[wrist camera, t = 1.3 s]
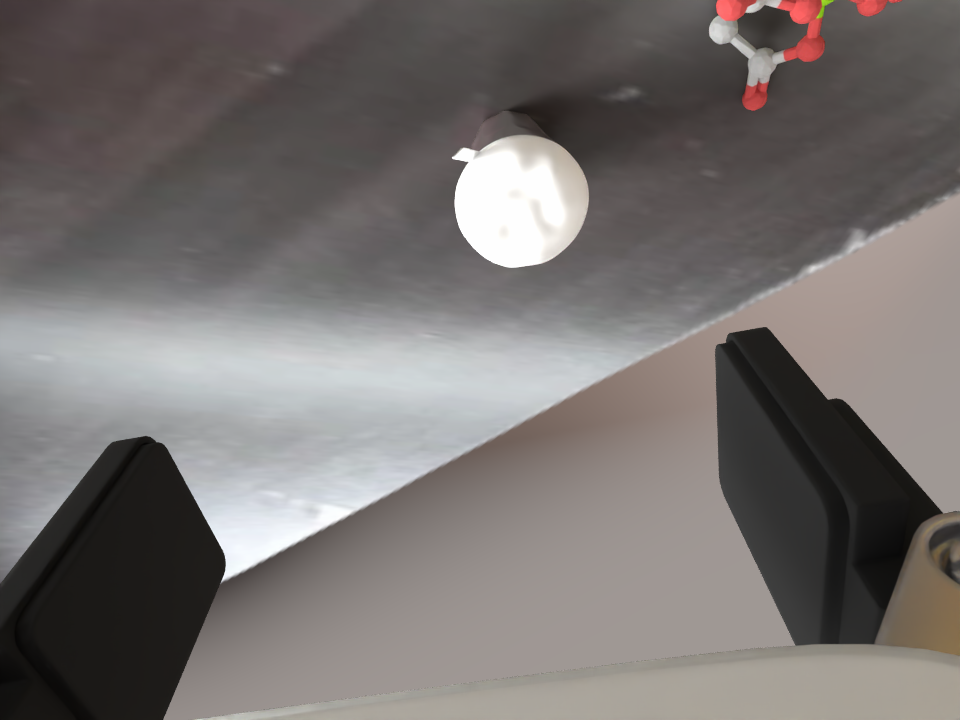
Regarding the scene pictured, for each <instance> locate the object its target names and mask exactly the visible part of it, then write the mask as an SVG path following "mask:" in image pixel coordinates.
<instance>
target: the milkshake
mask: <svg viewBox="0 0 960 720" xmlns="http://www.w3.org/2000/svg"><path fill="white" fill-rule="evenodd" d="M452 158H453V159H457V160H462V161H467V163H466V165H465V167H464V170H463V172H462V174H461V176H460V179H459V181H458V184H457V188H456V194H455V210H456V217H457V221H458V224H459V227H460V229H461V231H462V233H463V235H464V236H465V238H466V239H467V240H468V242H469V243H470V244H471V245H472V246H473V248H474V249H475V250H476V251H477V252H479V253H480V254H481V255H482V256H483V257H485V258H486V259H488V260H490V261H492V262H494V263H496V264H499V265H501V266H505V267H523V266H529V265H535V264H540V263H544V262H546V261H548V260H550V259H552V258H554V257H555V256H557V255H558V254H559V253H561V252H562V251H563V250H564V249H565V248H566V247H567V246H568V245H569V244H570V243H571V242H572V241H573V240H574V238H575V237H576V236H577V234H578V233H579V231H580V229H581V227H582V225H583V222H584V220H585V216H586V213H587V209H588V203H589V191H588V185H587V181H586V178H585V176H584V173H583V171H582V170H581V168H580V166H579V165H578V163H577V162H576V160H575V159H574V158H573V157H572V156H571V155H570V154H569V152H567V151H566V150H565V149H564V148H563V147H562V146H560V145H559V144H558V143H557V142H555V141H554V140H553V139H552V138H550V137H549V136H548V135H547V134H546V133H545V132H544V131H543V130H542V129H541V128H540V127H539V126H538V125H537V124H536V123H535V122H534V120H533V119H532V118H531V117H530V116H529V115H528V114H522V113H517V112H512V111H507V110H504V111H502V112H500V113H498V114H496V115H495V116H493V117H491V118H489V119H486V120H484V121H483V123H482V125H481V127H480V129H479V131H478V133H477V135H476V137H475V139H474V140H473V142H472V146H471V149H468V148H464V147H462V148H461V149H459V150H458V151H457V152H456V153H455V155H454V156H453V157H452Z"/></svg>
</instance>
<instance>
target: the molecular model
mask: <svg viewBox="0 0 960 720" xmlns="http://www.w3.org/2000/svg"><path fill="white" fill-rule="evenodd" d="M833 1H834V0H718V1H717V4H716V9H717V13H718V14H719V15H718V16H717V17H716V18H715V19H714V20H713V21H712V22H711V24H710V27H709V35H710V37H711V38H712V40H713V41H714V42H716V43H718V44H724V43H728V42H731V43H732V44H733V45H734V46H735V47H736V48H737V49H738V50H740V51H741V52H742V53H743V54H744V55H745V56H746V57H747V58H749V61H748V68H749V74H748V79H747V84H746V89H745V93H744V94H743V97H742V102H743V105H744V107H745V108H746V109H749V110H752V111H755V110H757V109H759V108H761V107H762V106H764V104H765V103H766V101H767V93H766V90H767V86H768V82H769V78H770V74H771V73H772V72H773V71H774V70H775V68H776V66H777V64H778V63H782V62H785V61H788V60H792V59H795V58H799V59H801V60H802V61H804V62H807V61H814V60H816V59H818V58H819V57H820V56H821V55H822V53H823V51H824V49H825V41H824V39H823V38H822V37H821V36H820V35H819V33H820V28H821V23H822V18H823V13H824V8H825V5H827V4H829V3H831V2H833ZM850 1H852V2H855V3H857V8H858V11H859V13H860V14H862V15H864V16H872V15H875V14H878V13H879V12H880V11H881V10H883V9H884V7H885V5H886V3H887V1H889V2H892V3H895V2H900V1H902V0H850ZM764 5H767V6H771V7H775V8H779V9H783V10H786V11H790V16H791V18H792V19H793V21H794V22H797V23H799V24H805V23H809V26H808V32H807V35H805V36H804V37H803V38H802V39H801V40H800V41H799V42H798V44H797V46H795V47H792V48H789V49H786V50H783V51H780V52H776V53H775V52H774V51H773V50H772V49H770V48H766V47H765V48H761V49H758V50H757V49H755V48H754V47H753V46H752V45H751V44H750V43H748V42H747V41H746V40H745V39H744V38H743V37H741V36H740V35H739V34H738V33H737V32H738V23H737V19H739V18H740V17H742V16H743V15H744V13H754V12H756V11H758V10H760V9H761V8H762V7H763V6H764Z"/></svg>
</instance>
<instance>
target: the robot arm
mask: <svg viewBox="0 0 960 720" xmlns="http://www.w3.org/2000/svg"><path fill="white" fill-rule="evenodd" d="M715 350H716V351H715V357H716V358H715V360H716V392H717V426H718V459H719V478H720V484H721V488H722V491H723V494H724V497H725V499H726V501H727V503H728V505H729V508H730V510H731V512H732V514H733V516H734V518H735V520H736V522H737V524H738V526H739V528H740V530H741V533H742V535H743V537H744V539H745V541H746V543H747V545H748V547H749V549H750V551H751V553H752V556H753V558H754V560H755V562H756V564H757V565H758V568H759V570H760V572H761V574H762V576H763V578H764V581H765V583H766V585H767V587H768V589H769V591H770V593H771V595H772V597H773V599H774V601H775V603H776V606H777V608H778V610H779V612H780V614H781V616H782V618H783V620H784V622H785V624H786V626H787V629H788V631H789V633H790V635H791V637H792V639H793V641H794V643H795V645H796V646H785V647H770V648H756V649H745V650H736V651H727V652H717V653H708V654H699V655H690V656H681V657H672V658H665V659H655V660H645V661H636V662H629V663H620V664H612V665H605V666H597V667H589V668H580V669H573V670H565V671H557V672H549V673H541V674H533V675H526V676H518V677H510V678H502V679H494V680H486V681H478V682H471V683H463V684H455V685H447V686H440V687H432V688H424V689H417V690H410V691H401V692H394V693H386V694H379V695H371V696H364V697H356V698H349V699H341V700H333V701H326V702H319V703H311V704H304V705H297V706H289V707H281V708H274V709H267V710H259V711H252V712H244V713H237V714H230V715H222V716H215V717H208V718H201V719H194V720H960V511H954V512H949V513H944V514H943V513H942V512H941V510H940V509H939V508H938V507H937V506H936V505H935V503H934V502H933V501H932V500H931V499H930V498H929V497H928V496H927V494H926V493H925V492H924V491H923V490H922V488H921V487H920V486H919V485H918V484H917V483H916V482H915V481H914V480H913V478H912V477H911V476H910V475H909V474H908V472H907V471H906V470H905V469H904V468H903V467H902V466H901V464H900V463H899V462H898V461H897V460H896V459H895V458H894V456H893V455H892V454H891V453H890V452H889V451H888V450H887V448H886V447H885V446H884V445H883V444H882V443H881V441H880V440H879V439H878V438H877V437H876V436H875V435H874V433H873V432H872V431H871V430H870V429H869V428H868V427H867V426H866V425H865V423H864V422H863V421H862V420H861V419H860V417H859V416H858V415H857V414H856V413H855V412H854V411H853V409H852V408H851V407H850V406H849V405H848V404H847V403H846V402H844V401H843V400H841V399H837V398H836V399H830V400H828V399H827V398H826V397H825V396H824V395H823V393H822V392H821V391H820V390H819V389H818V387H817V386H816V385H815V384H814V383H813V382H812V380H811V379H810V378H809V377H808V376H807V374H806V373H805V372H804V371H803V370H802V368H801V367H800V366H799V365H798V364H797V362H796V361H795V360H794V359H793V357H792V356H791V355H790V354H789V353H788V351H787V350H786V349H785V348H784V347H783V345H782V344H781V343H780V342H779V341H778V340H777V338H776V337H775V336H774V335H773V334H772V332H771V331H770V330H769V329H768V328H767V327H763V328H756V329H751V330H745V331H740V332H734V333H729V334H728V336H727V339H726V343H723V344H718V345H717V346H716V349H715ZM225 567H226V562H225V556H224V553H223V550H222V549H221V547H220V545H219V543H218V541H217V539H216V538H215V536H214V534H213V532H212V530H211V528H210V527H209V525H208V523H207V521H206V519H205V517H204V516H203V514H202V512H201V510H200V508H199V506H198V505H197V503H196V501H195V499H194V497H193V495H192V494H191V492H190V490H189V488H188V486H187V484H186V483H185V481H184V479H183V477H182V475H181V473H180V472H179V470H178V468H177V466H176V464H175V462H174V461H173V459H172V457H171V455H170V453H169V451H168V450H167V448H166V447H165V445H163V444H162V443H159V442H157V443H156V441H155V440H154V439H152V438H151V437H148V436H143V437H137V438H132V439H126V440H120V441H116V442H112V443H111V444H110V445H109V446H108V447H107V448H106V449H105V450H104V452H103V453H102V454H101V456H100V457H99V458H98V459H97V461H96V462H95V463H94V465H93V466H92V467H91V468H90V470H89V471H88V472H87V474H86V475H85V476H84V477H83V479H82V480H81V481H80V482H79V484H78V485H77V486H76V488H75V489H74V490H73V491H72V493H71V494H70V495H69V497H68V498H67V499H66V500H65V502H64V503H63V504H62V506H61V507H60V508H59V509H58V511H57V512H56V513H55V514H54V516H53V517H52V518H51V520H50V521H49V522H48V523H47V525H46V526H45V527H44V529H43V530H42V531H41V532H40V534H39V535H38V536H37V538H36V539H35V540H34V541H33V543H32V544H31V545H30V546H29V548H28V549H27V550H26V552H25V553H24V554H23V555H22V557H21V558H20V559H19V561H18V562H17V563H16V564H15V566H14V567H13V568H12V570H11V571H10V572H9V573H8V575H7V576H6V577H5V578H4V580H3V581H2V582H1V584H0V720H163V718H164V716H165V714H166V711H167V709H168V707H169V704H170V702H171V700H172V697H173V695H174V692H175V690H176V688H177V685H178V683H179V680H180V678H181V676H182V673H183V671H184V669H185V666H186V664H187V661H188V659H189V657H190V654H191V652H192V649H193V647H194V645H195V642H196V640H197V637H198V635H199V633H200V630H201V628H202V626H203V623H204V621H205V618H206V616H207V614H208V611H209V609H210V607H211V604H212V602H213V599H214V597H215V595H216V592H217V589H218V588H219V585H220V583H221V580H222V578H223V576H224V572H225Z"/></svg>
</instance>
